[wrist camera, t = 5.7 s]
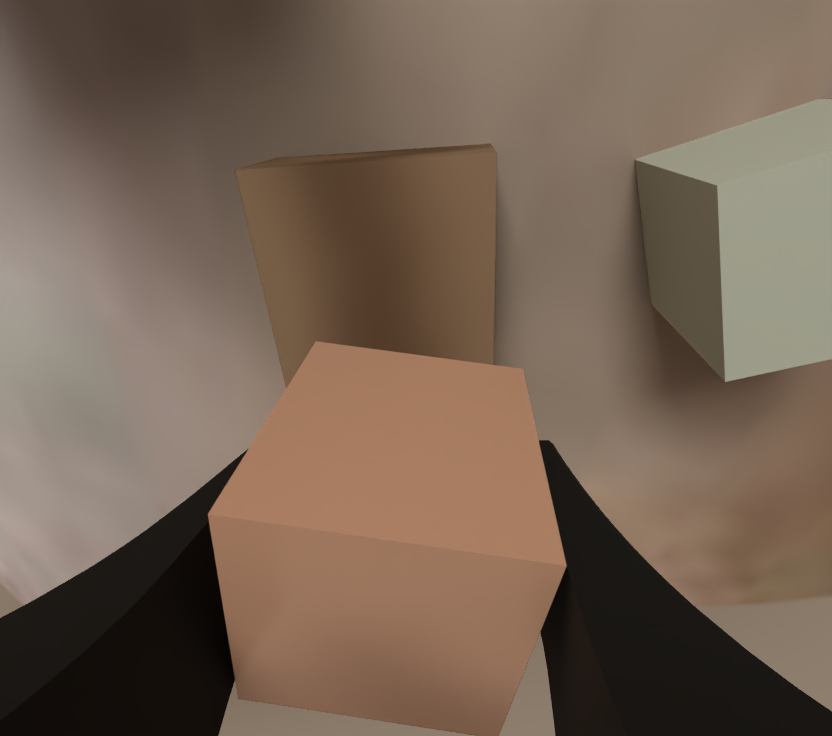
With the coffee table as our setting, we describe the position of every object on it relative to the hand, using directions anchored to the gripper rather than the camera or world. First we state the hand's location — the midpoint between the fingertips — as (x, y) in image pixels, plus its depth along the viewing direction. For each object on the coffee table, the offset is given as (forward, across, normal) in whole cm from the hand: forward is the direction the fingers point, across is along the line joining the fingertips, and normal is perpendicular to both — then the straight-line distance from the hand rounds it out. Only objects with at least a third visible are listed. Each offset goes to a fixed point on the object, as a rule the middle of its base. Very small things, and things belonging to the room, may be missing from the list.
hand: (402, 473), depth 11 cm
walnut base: (+8, +1, -3) cm, 9 cm away
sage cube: (+8, -10, -4) cm, 13 cm away
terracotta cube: (+1, 0, 0) cm, 1 cm away
